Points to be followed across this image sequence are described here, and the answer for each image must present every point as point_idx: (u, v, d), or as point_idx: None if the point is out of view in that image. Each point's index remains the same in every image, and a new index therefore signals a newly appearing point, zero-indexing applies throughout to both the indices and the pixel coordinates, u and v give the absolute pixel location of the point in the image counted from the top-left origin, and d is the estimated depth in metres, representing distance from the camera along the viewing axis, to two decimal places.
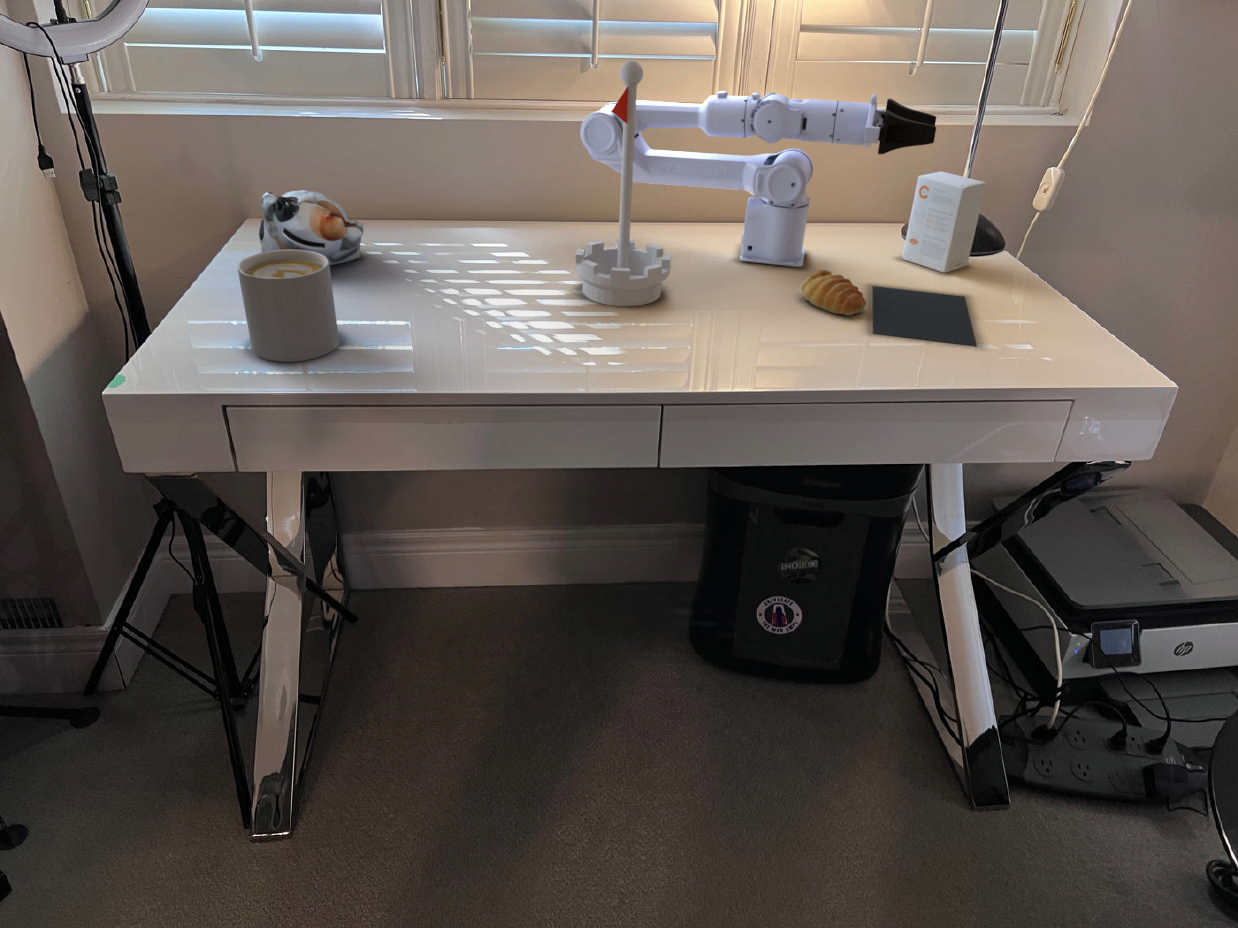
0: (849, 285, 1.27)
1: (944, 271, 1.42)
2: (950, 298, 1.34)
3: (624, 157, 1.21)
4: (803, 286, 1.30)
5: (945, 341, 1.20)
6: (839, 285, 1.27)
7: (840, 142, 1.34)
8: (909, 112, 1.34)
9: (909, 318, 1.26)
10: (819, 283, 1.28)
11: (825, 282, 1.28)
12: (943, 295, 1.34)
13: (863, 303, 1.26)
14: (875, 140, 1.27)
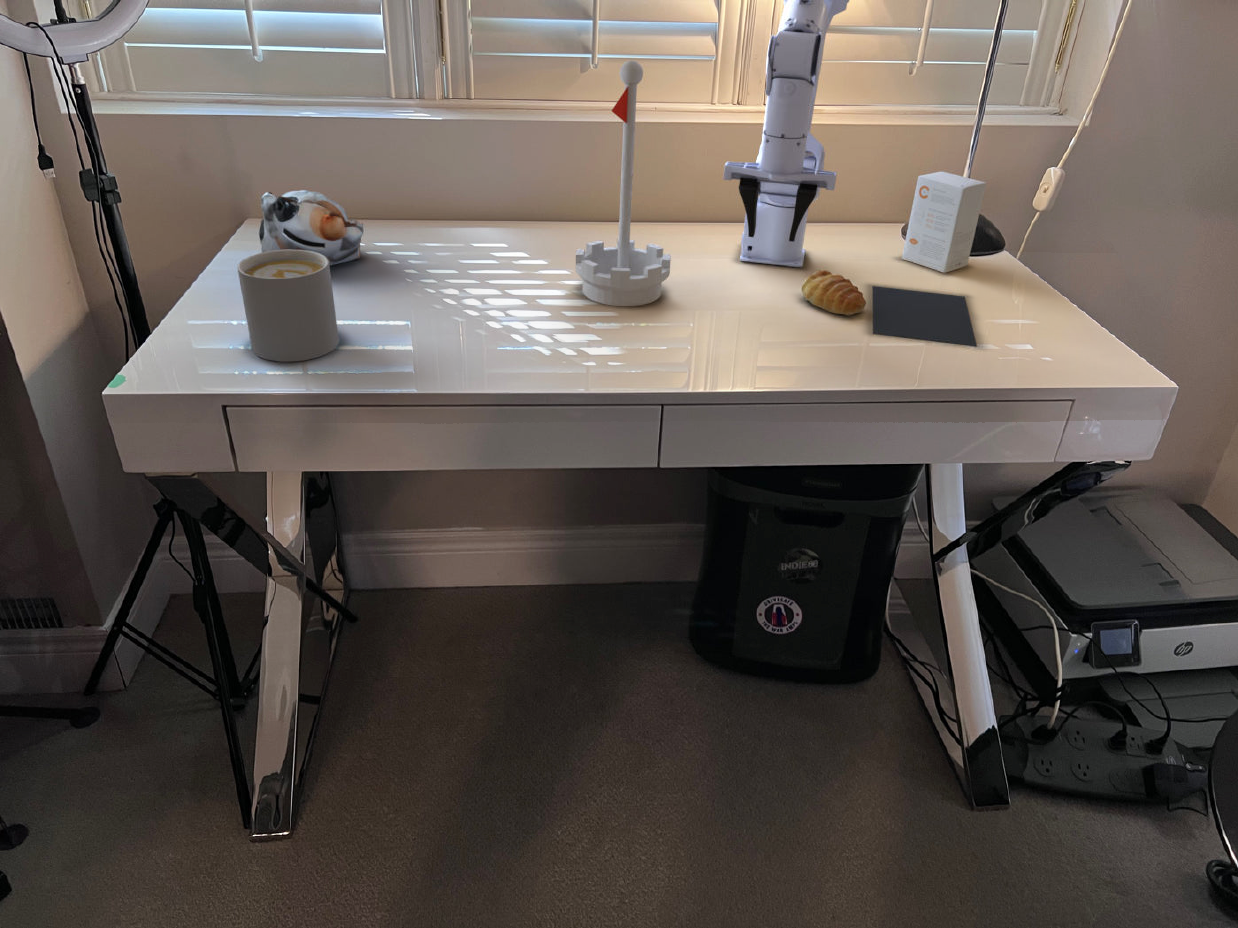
0: (849, 285, 1.27)
1: (944, 271, 1.42)
2: (950, 298, 1.34)
3: (624, 157, 1.21)
4: (803, 286, 1.30)
5: (945, 341, 1.20)
6: (839, 285, 1.27)
7: None
8: (794, 214, 1.24)
9: (909, 318, 1.26)
10: (819, 283, 1.28)
11: (825, 282, 1.28)
12: (943, 295, 1.34)
13: (863, 303, 1.26)
14: None
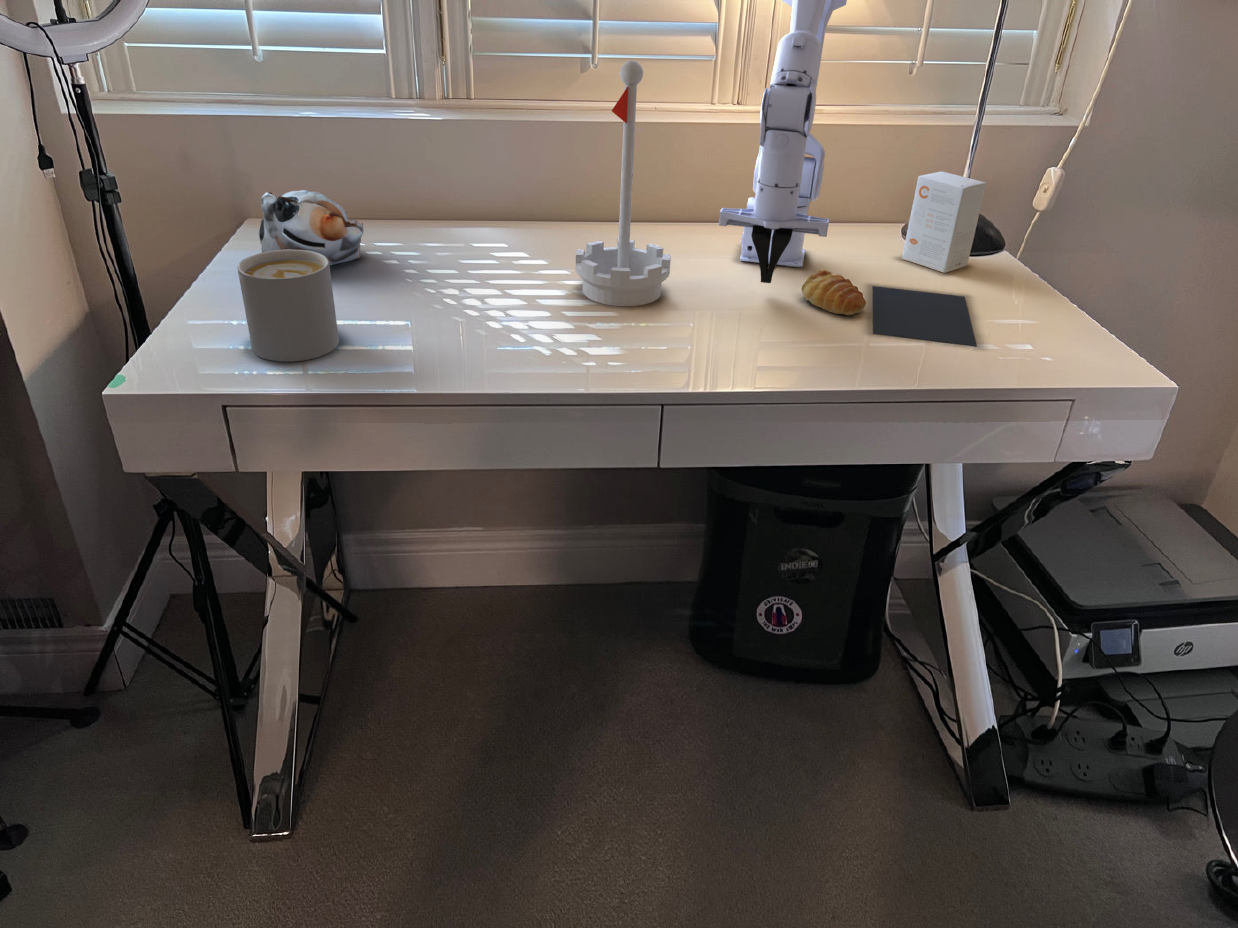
0: (849, 285, 1.27)
1: (944, 271, 1.42)
2: (950, 298, 1.34)
3: (624, 157, 1.21)
4: (803, 286, 1.30)
5: (945, 341, 1.20)
6: (839, 285, 1.27)
7: None
8: (770, 257, 1.27)
9: (909, 318, 1.26)
10: (819, 283, 1.28)
11: (825, 282, 1.28)
12: (943, 295, 1.34)
13: (863, 303, 1.26)
14: None
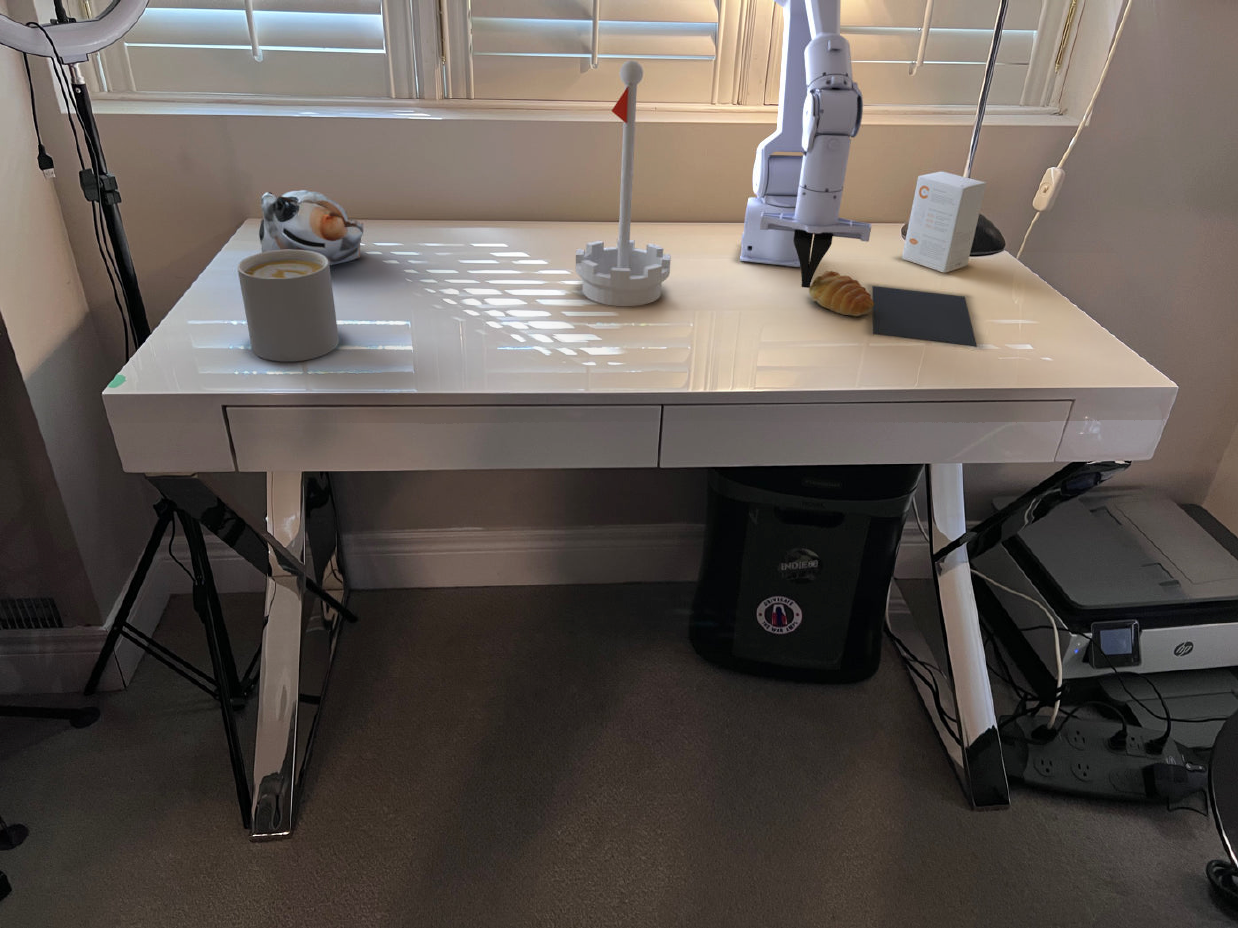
0: (857, 286, 1.27)
1: (944, 271, 1.42)
2: (950, 298, 1.34)
3: (624, 157, 1.21)
4: (811, 287, 1.30)
5: (945, 341, 1.20)
6: (846, 286, 1.27)
7: None
8: None
9: (909, 318, 1.26)
10: (827, 284, 1.28)
11: (833, 283, 1.28)
12: (943, 295, 1.34)
13: (871, 304, 1.25)
14: None
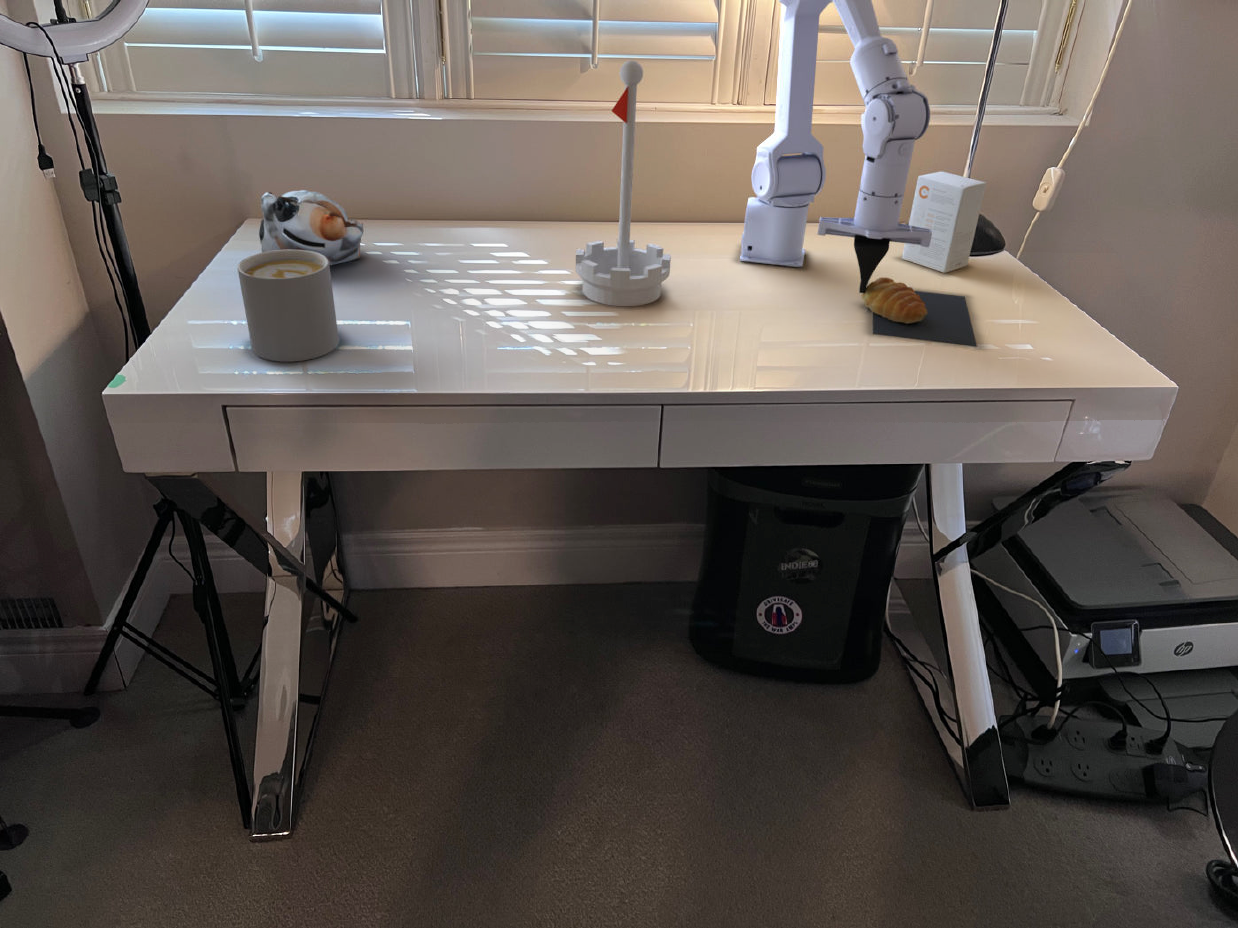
0: (910, 293, 1.25)
1: (944, 271, 1.42)
2: (950, 298, 1.34)
3: (624, 157, 1.21)
4: None
5: (945, 341, 1.20)
6: (900, 293, 1.25)
7: None
8: None
9: None
10: (880, 290, 1.26)
11: (886, 289, 1.26)
12: (943, 295, 1.34)
13: (923, 312, 1.23)
14: None
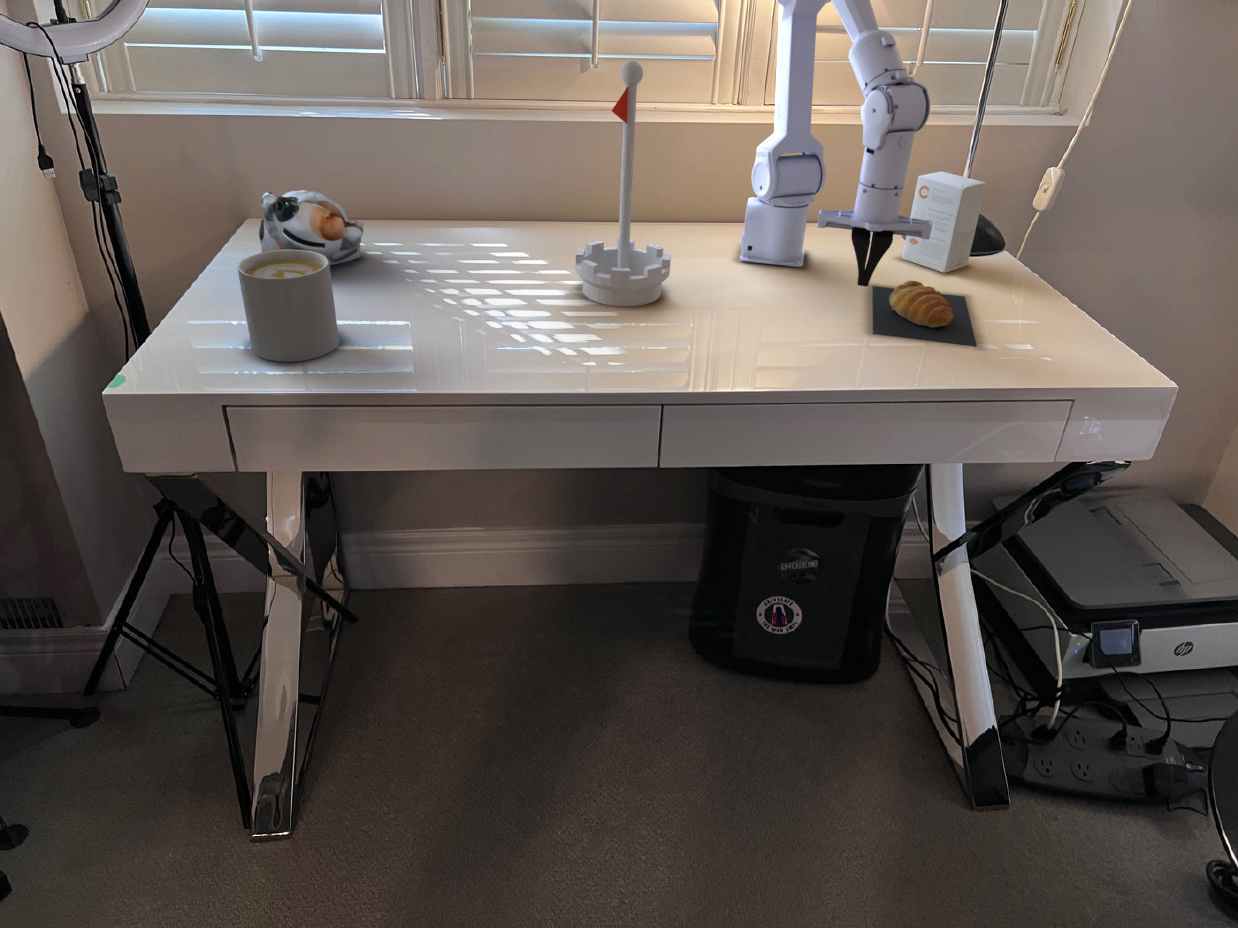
0: (938, 297, 1.25)
1: (944, 271, 1.42)
2: (950, 298, 1.34)
3: (624, 157, 1.21)
4: (891, 295, 1.28)
5: (945, 341, 1.20)
6: (926, 296, 1.24)
7: None
8: (869, 260, 1.25)
9: None
10: (907, 293, 1.26)
11: (913, 292, 1.25)
12: (943, 295, 1.34)
13: (949, 316, 1.22)
14: None
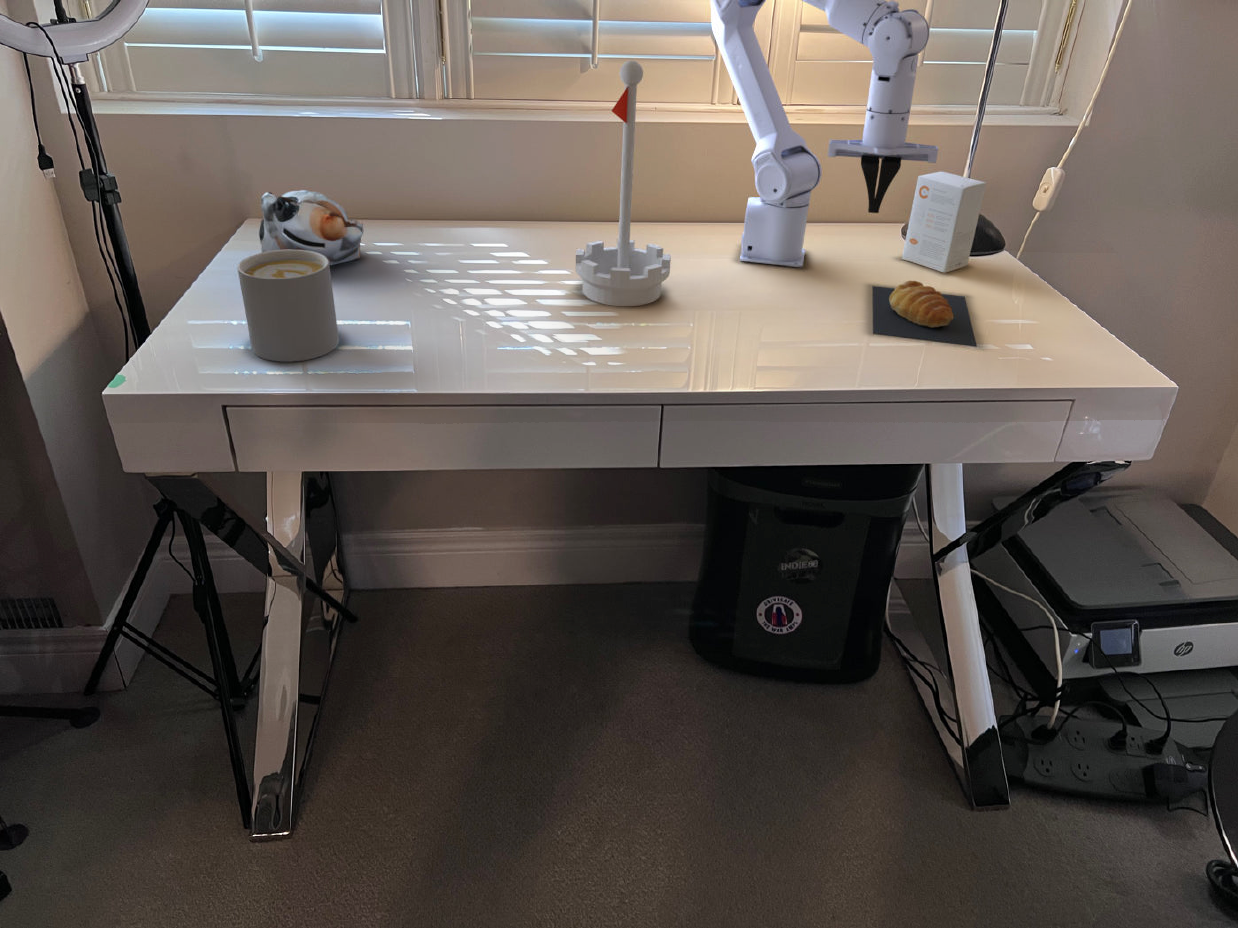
0: (938, 297, 1.25)
1: (944, 271, 1.42)
2: (950, 298, 1.34)
3: (624, 157, 1.21)
4: (891, 295, 1.28)
5: (945, 341, 1.20)
6: (926, 296, 1.24)
7: None
8: (878, 186, 1.30)
9: None
10: (907, 293, 1.26)
11: (913, 292, 1.25)
12: (943, 295, 1.34)
13: (949, 316, 1.22)
14: None
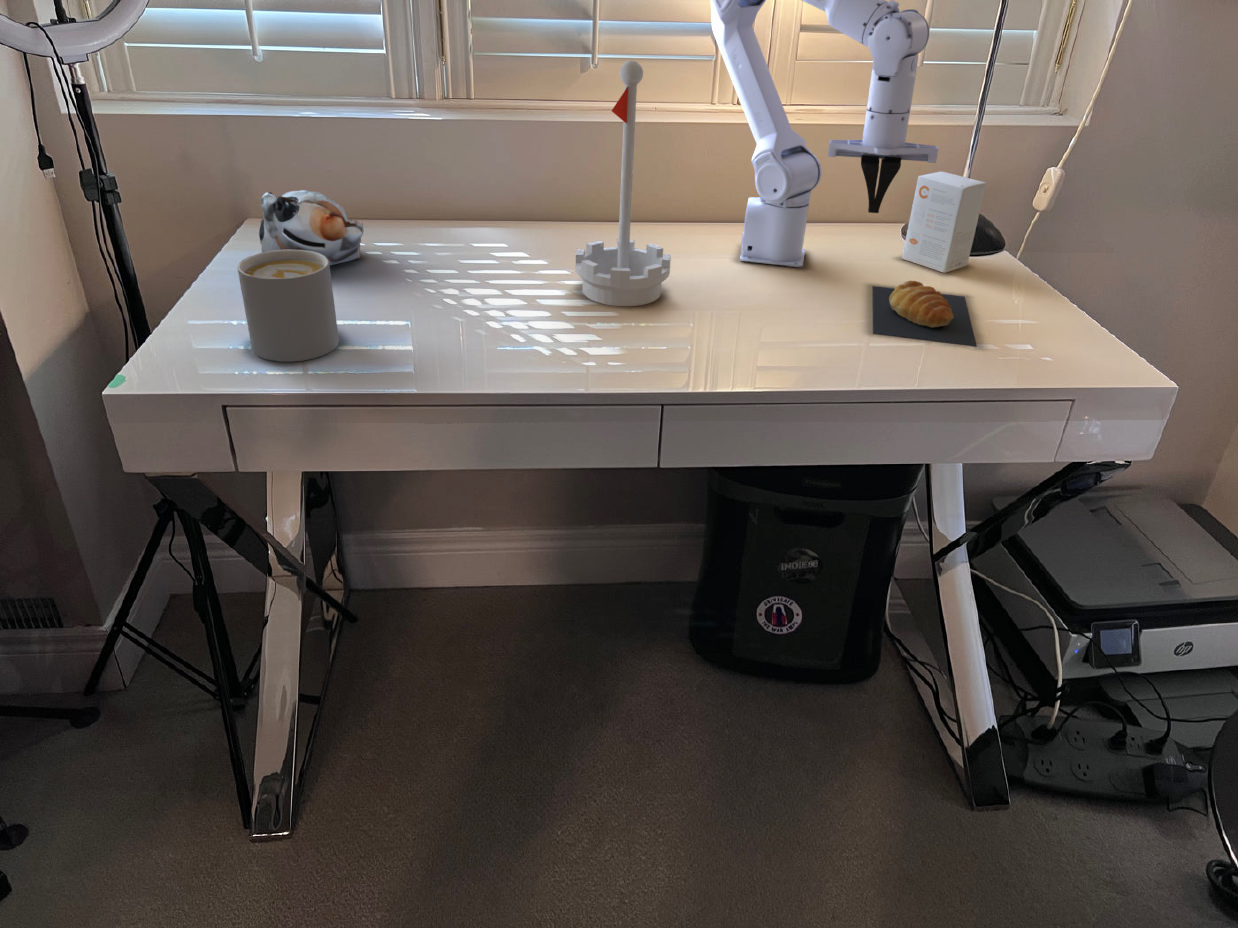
0: (938, 297, 1.25)
1: (944, 271, 1.42)
2: (950, 298, 1.34)
3: (624, 157, 1.21)
4: (891, 295, 1.28)
5: (945, 341, 1.20)
6: (926, 296, 1.24)
7: None
8: (878, 186, 1.30)
9: None
10: (907, 293, 1.26)
11: (913, 292, 1.25)
12: (943, 295, 1.34)
13: (949, 316, 1.22)
14: None
